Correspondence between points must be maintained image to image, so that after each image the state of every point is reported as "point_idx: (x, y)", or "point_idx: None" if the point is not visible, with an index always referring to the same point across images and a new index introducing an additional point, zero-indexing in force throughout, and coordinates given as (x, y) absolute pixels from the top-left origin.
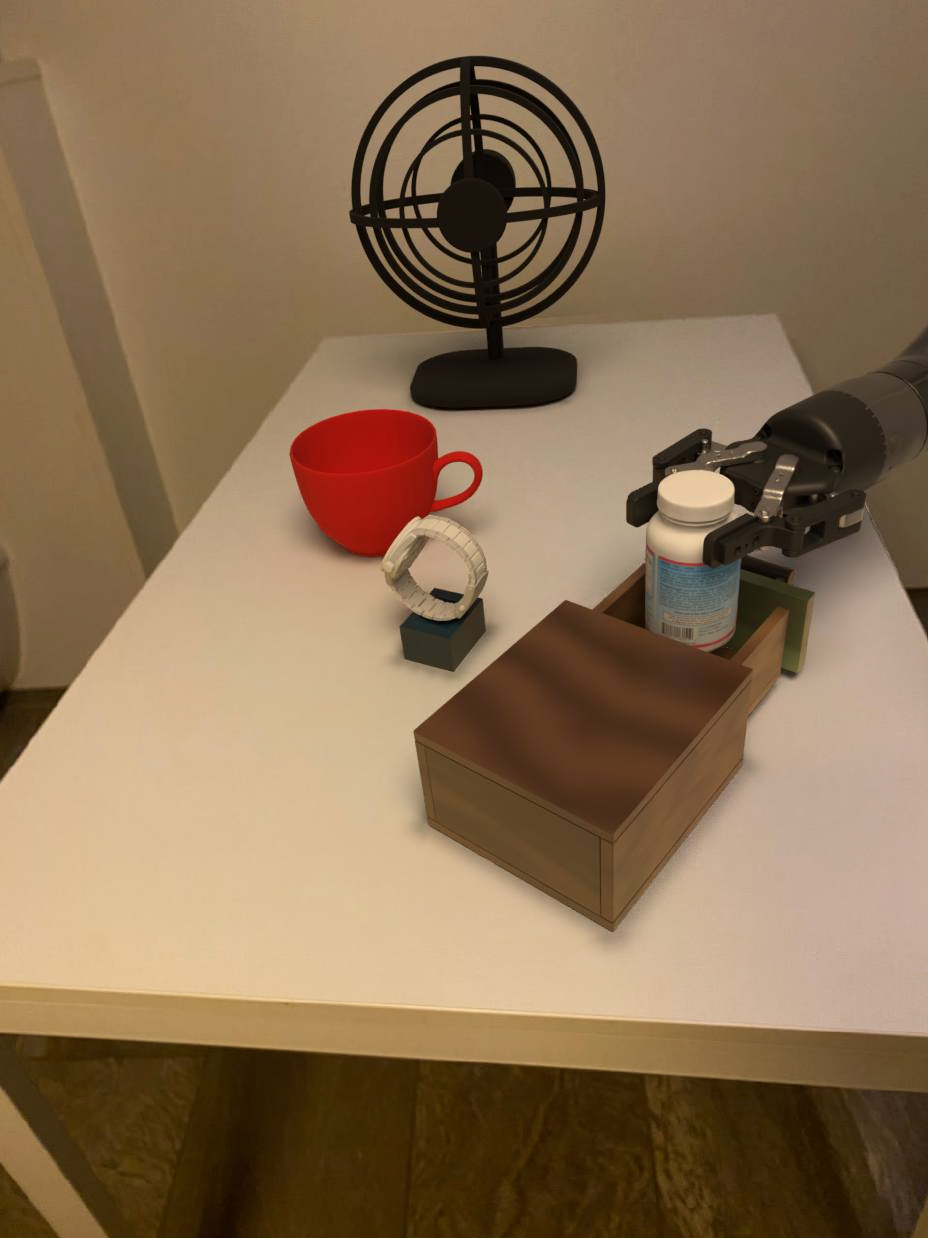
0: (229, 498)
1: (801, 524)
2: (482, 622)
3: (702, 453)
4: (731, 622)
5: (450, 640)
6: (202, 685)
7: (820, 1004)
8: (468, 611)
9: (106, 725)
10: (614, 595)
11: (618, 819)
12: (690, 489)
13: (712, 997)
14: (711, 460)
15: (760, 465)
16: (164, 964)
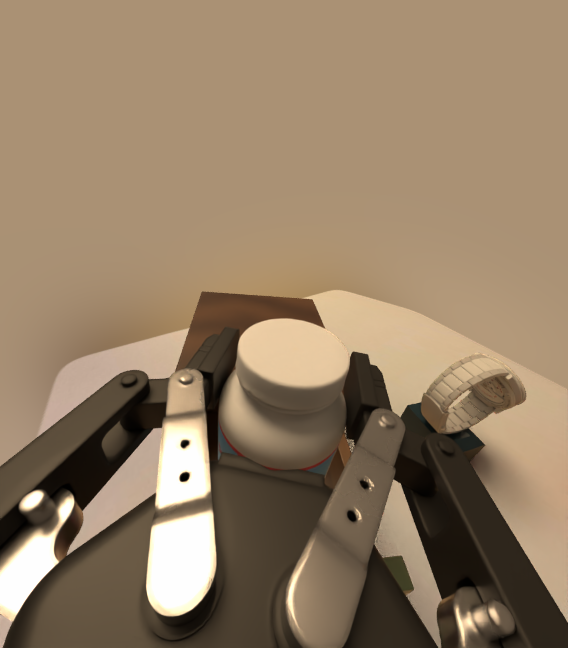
0: None
1: (118, 375)
2: None
3: (464, 595)
4: None
5: (407, 407)
6: (449, 357)
7: (108, 355)
8: None
9: (436, 332)
10: (342, 443)
11: (203, 295)
12: (298, 343)
13: (155, 342)
14: (357, 455)
15: (272, 560)
16: (315, 298)
